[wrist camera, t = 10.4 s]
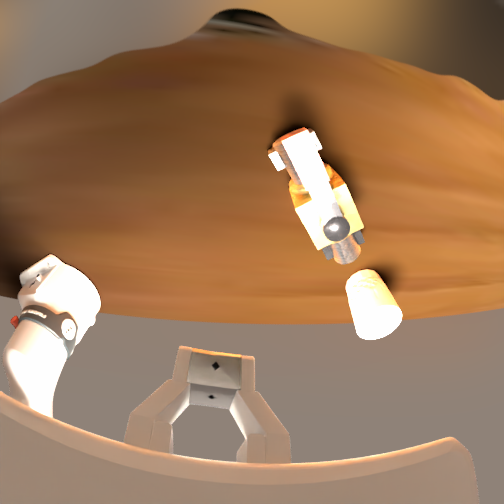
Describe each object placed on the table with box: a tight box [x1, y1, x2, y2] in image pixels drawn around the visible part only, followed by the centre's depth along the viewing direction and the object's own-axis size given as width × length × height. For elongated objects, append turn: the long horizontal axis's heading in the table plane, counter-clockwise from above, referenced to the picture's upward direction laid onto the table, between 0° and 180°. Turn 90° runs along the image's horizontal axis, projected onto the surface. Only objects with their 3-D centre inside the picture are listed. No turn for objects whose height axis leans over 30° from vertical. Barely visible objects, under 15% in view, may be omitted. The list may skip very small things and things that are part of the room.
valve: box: [268, 128, 365, 264], centre depth 37 cm, size 20×7×8 cm, turn 31°
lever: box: [280, 127, 350, 242], centre depth 30 cm, size 14×3×2 cm, turn 28°
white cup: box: [346, 269, 402, 340], centre depth 45 cm, size 8×8×10 cm
